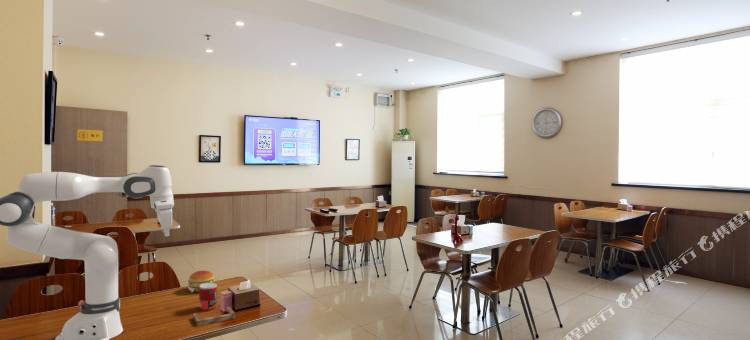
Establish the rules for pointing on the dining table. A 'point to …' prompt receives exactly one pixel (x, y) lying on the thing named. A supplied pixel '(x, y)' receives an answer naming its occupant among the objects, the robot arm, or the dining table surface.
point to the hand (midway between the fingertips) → (165, 234)
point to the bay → (214, 319)
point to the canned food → (208, 296)
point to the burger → (199, 280)
